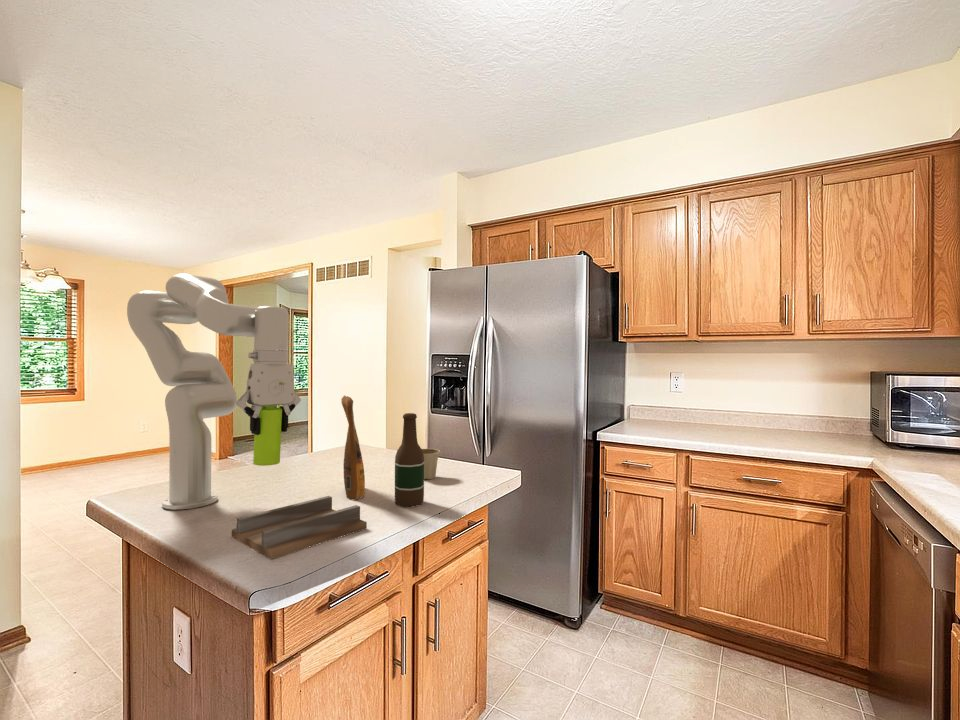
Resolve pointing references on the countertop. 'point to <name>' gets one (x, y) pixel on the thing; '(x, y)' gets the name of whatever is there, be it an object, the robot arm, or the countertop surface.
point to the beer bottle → (409, 467)
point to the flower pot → (430, 462)
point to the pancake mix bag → (352, 456)
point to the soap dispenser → (268, 436)
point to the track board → (296, 526)
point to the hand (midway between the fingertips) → (269, 431)
